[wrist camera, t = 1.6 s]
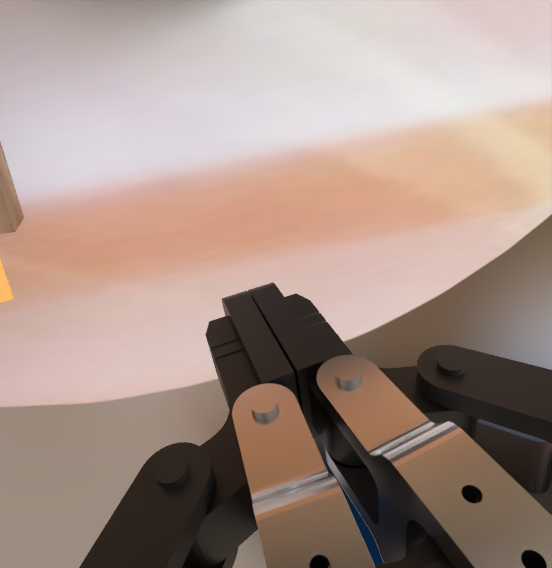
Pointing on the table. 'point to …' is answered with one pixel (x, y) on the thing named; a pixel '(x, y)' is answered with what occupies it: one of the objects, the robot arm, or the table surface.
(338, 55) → the table surface
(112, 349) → the table surface
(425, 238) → the table surface
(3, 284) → the lever orange
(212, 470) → the robot arm
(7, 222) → the console
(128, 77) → the table surface
